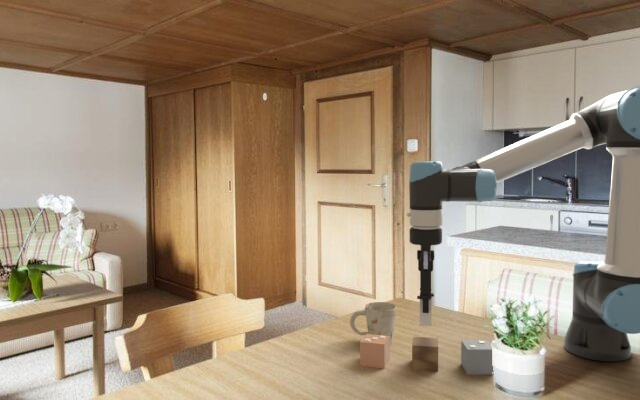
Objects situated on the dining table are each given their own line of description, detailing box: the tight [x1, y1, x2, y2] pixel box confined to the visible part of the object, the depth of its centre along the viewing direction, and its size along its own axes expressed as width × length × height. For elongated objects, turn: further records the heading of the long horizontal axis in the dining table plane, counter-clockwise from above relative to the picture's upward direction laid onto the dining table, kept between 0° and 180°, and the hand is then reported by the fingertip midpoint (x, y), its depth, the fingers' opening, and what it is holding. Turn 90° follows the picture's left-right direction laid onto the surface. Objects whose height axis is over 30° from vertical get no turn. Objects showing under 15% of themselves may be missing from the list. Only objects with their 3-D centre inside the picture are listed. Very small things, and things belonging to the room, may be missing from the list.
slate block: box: [460, 339, 494, 375], centre depth 125 cm, size 6×6×6 cm
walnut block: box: [411, 336, 439, 373], centre depth 128 cm, size 6×6×6 cm
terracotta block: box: [359, 334, 391, 369], centre depth 130 cm, size 6×6×6 cm
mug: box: [349, 301, 397, 345], centre depth 144 cm, size 8×13×10 cm, turn 78°
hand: (425, 324), depth 127 cm, fingers closed
